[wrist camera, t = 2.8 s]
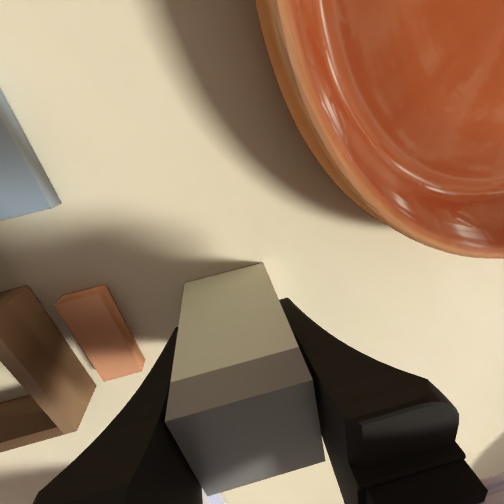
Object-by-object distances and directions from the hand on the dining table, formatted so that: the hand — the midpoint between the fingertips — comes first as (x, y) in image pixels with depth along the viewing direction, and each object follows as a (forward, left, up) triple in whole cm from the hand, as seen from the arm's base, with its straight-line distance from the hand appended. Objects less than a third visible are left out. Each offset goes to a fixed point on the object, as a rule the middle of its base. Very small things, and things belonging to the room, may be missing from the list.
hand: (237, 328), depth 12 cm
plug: (0, 0, -2) cm, 2 cm away
